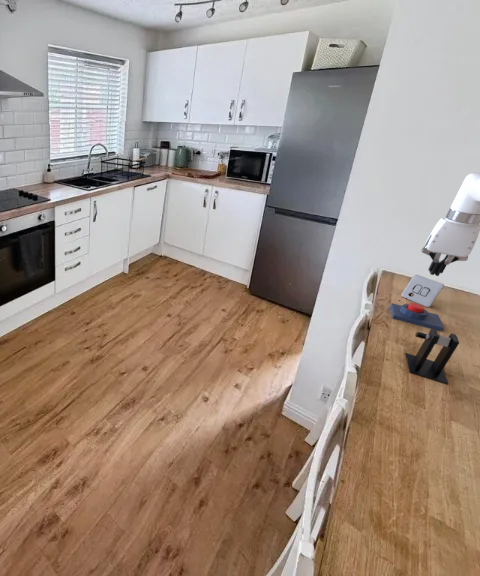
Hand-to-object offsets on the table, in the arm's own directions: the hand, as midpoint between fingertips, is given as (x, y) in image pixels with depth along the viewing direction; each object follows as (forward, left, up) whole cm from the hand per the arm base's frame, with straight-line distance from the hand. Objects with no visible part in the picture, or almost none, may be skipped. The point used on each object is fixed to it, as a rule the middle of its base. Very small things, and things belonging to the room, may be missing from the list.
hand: (433, 273), depth 116 cm
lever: (0, +28, -10) cm, 30 cm away
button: (0, 0, -14) cm, 14 cm away
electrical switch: (-4, -19, -17) cm, 26 cm away
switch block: (-1, 0, -17) cm, 17 cm away
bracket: (0, +32, -17) cm, 36 cm away
